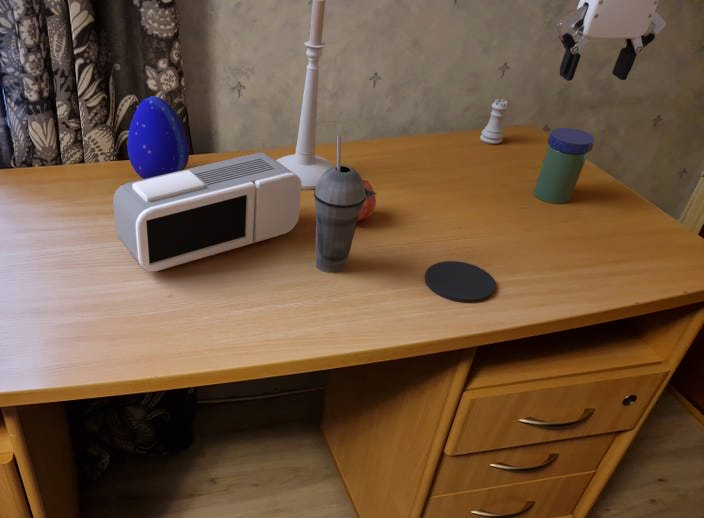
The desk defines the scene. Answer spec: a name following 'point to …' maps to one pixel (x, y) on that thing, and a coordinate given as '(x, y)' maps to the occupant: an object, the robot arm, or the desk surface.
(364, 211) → the pomegranate
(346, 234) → the beverage cup
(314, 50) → the candlestick
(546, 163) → the jar
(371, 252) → the desk surface
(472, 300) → the coaster
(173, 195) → the alarm clock
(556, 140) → the lid
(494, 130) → the rook chess piece
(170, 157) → the ornament
